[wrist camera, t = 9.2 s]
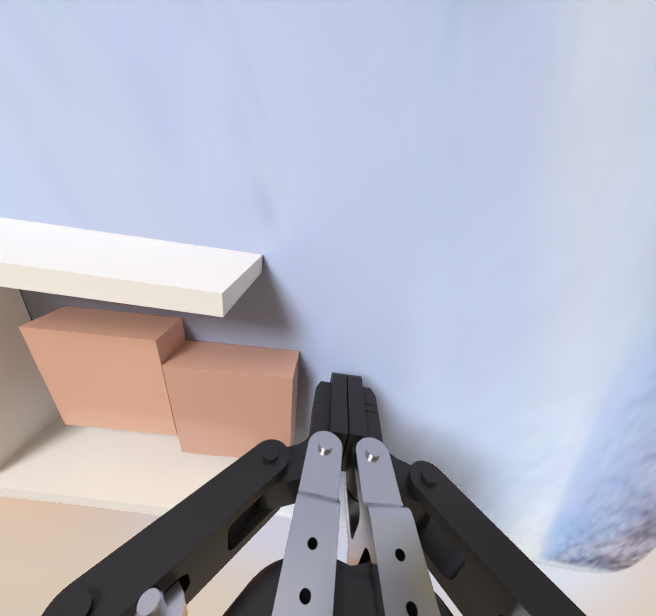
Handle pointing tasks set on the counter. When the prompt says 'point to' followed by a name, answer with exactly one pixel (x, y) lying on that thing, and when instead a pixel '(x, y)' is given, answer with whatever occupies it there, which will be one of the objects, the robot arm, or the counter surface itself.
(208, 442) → the tile
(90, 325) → the tile
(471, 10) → the counter surface
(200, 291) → the white u-shaped bracket
